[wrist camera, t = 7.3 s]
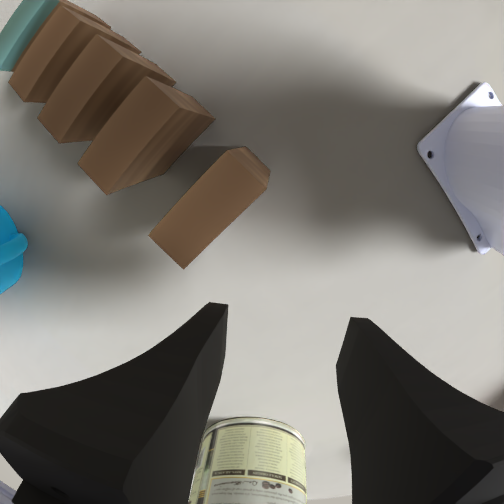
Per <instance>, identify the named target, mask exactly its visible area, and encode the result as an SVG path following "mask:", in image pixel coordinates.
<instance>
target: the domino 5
mask: <svg viewBox="0 0 504 504" xmlns="http://www.w3.org/2000/svg"><path fill="white" fill-rule="evenodd" d="M269 176H270V170H269V169H268V168H267V167H266V166H265V165H264V164H263V163H262V162H261V161H260V160H259V159H258V158H257V157H256V156H255V155H254V154H253V153H252V152H251V151H250V150H249V149H248V148H247V147H241V148H235V149H230V150H227V151H226V152H225V153H224V154H223V155H222V156H221V157H220V158H219V159H218V160H217V161H216V162H215V163H214V164H213V165H212V166H211V167H210V168H209V169H208V170H207V171H206V172H205V173H204V174H203V175H202V176H201V177H200V178H199V179H198V180H197V181H196V182H195V184H194V185H193V186H192V187H191V188H190V189H189V190H188V191H187V192H186V193H185V194H184V195H183V196H182V198H181V199H180V200H179V201H178V202H177V203H176V204H175V205H174V206H173V207H172V209H171V210H170V211H169V212H168V213H167V214H166V215H165V216H164V218H163V219H162V220H161V221H160V222H159V223H158V224H157V225H156V227H155V228H154V229H153V230H152V231H151V232H150V234H149V235H148V236H149V237H150V238H151V239H152V240H153V241H154V242H155V243H156V244H157V245H158V246H159V247H161V248H162V249H163V250H164V251H165V252H166V253H167V254H168V255H169V256H170V257H171V258H172V259H173V260H174V261H175V262H176V263H177V264H178V265H179V266H180V267H181V268H182V269H185V268H186V267H187V266H188V265H189V264H190V263H191V262H192V261H193V260H194V259H195V258H196V257H197V256H198V255H199V254H200V253H201V252H202V251H203V250H204V249H205V248H206V247H207V246H208V245H209V244H210V243H211V242H212V241H213V240H214V239H215V238H216V237H217V236H218V235H219V234H220V233H221V232H222V231H223V230H224V229H225V228H226V227H227V226H228V225H230V224H231V223H232V222H233V221H234V220H235V219H236V218H237V217H238V216H239V215H240V214H241V213H242V212H243V211H244V210H245V209H246V208H247V207H248V206H249V205H250V204H251V203H253V202H254V201H255V200H256V199H257V198H258V197H259V196H260V195H261V194H262V193H263V192H264V191H265V190H266V189H267V184H268V180H269Z"/></svg>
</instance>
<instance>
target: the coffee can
mask: <svg viewBox="0 0 504 504" xmlns="http://www.w3.org/2000/svg"><path fill="white" fill-rule="evenodd" d="M188 504H307V491H306V465H305V441H304V439H303V437H302V436H301V434H300V433H299V432H298V431H296V430H295V429H294V428H292V427H290V426H288V425H286V424H284V423H281V422H277V421H274V420H270V419H264V418H251V417H246V418H235V419H228V420H224V421H221V422H219V423H216V424H214V425H212V426H211V427H210V428H208V429H207V431H206V432H205V434H204V436H203V440H202V447H201V451H200V455H199V460H198V464H197V468H196V472H195V477H194V481H193V485H192V490H191V494H190V498H189V502H188Z"/></svg>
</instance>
